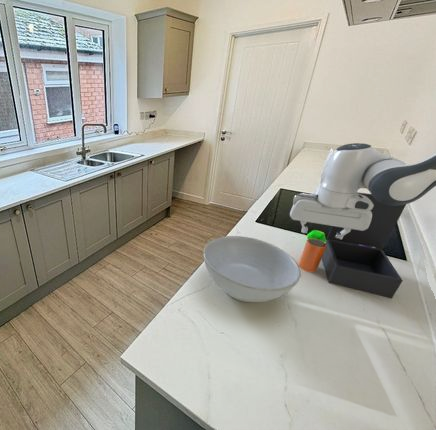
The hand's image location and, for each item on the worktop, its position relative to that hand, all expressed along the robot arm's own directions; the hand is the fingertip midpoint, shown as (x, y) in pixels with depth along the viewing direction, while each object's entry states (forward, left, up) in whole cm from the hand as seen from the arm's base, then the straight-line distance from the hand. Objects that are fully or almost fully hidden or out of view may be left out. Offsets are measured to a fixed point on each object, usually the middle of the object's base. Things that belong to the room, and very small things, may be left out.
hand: (320, 235), depth 87 cm
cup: (0, 0, -14) cm, 14 cm away
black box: (-13, -2, -14) cm, 19 cm away
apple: (-5, -21, -14) cm, 26 cm away
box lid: (-13, -11, +3) cm, 17 cm away
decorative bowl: (+20, +21, -14) cm, 32 cm away
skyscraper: (-13, -72, -14) cm, 75 cm away
